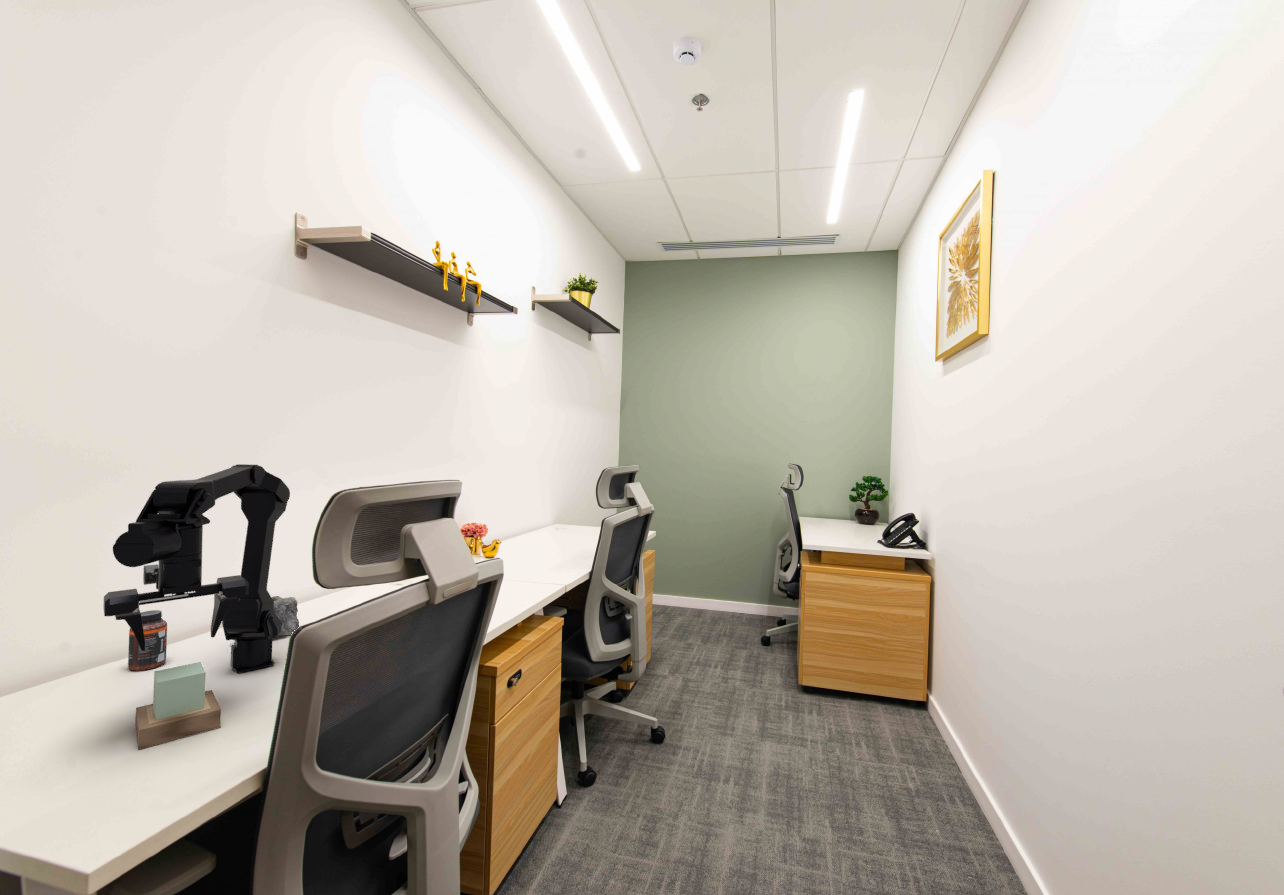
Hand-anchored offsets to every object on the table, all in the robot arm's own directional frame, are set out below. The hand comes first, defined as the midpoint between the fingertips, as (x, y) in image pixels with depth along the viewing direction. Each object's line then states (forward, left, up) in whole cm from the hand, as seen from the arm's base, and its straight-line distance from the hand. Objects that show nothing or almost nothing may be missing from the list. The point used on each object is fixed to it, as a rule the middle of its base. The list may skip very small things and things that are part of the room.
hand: (179, 643), depth 93 cm
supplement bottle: (+2, -31, -13) cm, 34 cm away
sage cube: (0, +5, -10) cm, 11 cm away
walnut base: (0, +5, -13) cm, 13 cm away
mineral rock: (-20, -36, -13) cm, 43 cm away
